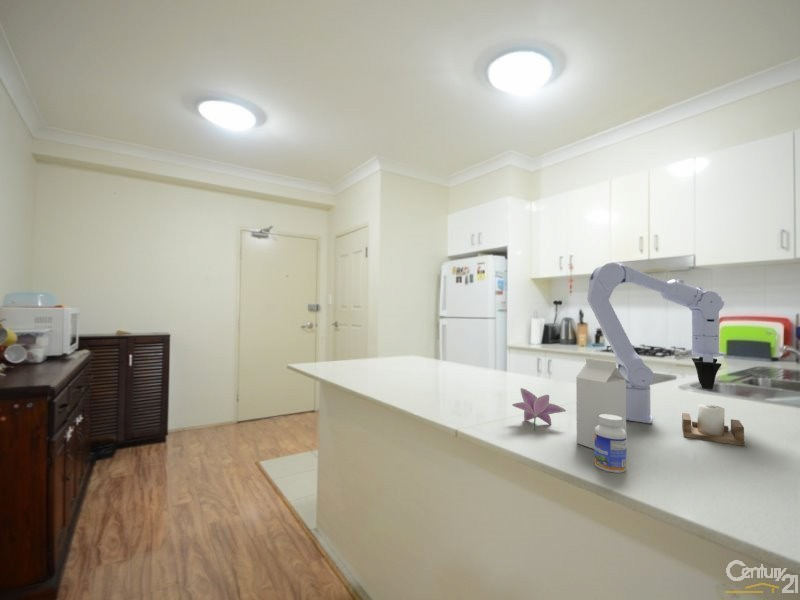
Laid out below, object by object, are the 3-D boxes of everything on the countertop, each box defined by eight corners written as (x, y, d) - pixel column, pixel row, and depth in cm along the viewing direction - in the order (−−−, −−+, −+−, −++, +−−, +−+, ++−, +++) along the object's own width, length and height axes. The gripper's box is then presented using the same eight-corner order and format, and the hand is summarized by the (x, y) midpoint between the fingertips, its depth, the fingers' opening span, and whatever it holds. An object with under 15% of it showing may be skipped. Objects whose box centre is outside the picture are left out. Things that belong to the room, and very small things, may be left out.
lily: (572, 436, 95) (569, 398, 100) (542, 424, 90) (541, 384, 94) (531, 439, 104) (531, 403, 109) (502, 427, 99) (503, 391, 103)
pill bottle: (588, 462, 76) (588, 413, 76) (614, 461, 77) (614, 412, 77) (605, 474, 71) (605, 421, 71) (633, 473, 71) (633, 420, 71)
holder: (683, 436, 92) (683, 419, 92) (682, 428, 99) (682, 412, 99) (744, 446, 86) (744, 428, 86) (738, 436, 93) (738, 419, 93)
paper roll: (699, 433, 92) (699, 407, 92) (696, 427, 96) (696, 402, 96) (726, 437, 89) (726, 410, 89) (722, 431, 93) (722, 405, 93)
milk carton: (605, 454, 81) (605, 363, 81) (576, 443, 87) (576, 359, 87) (626, 448, 84) (626, 361, 84) (596, 438, 90) (596, 357, 91)
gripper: (728, 338, 95) (729, 393, 95) (721, 335, 107) (721, 383, 107) (692, 336, 99) (693, 389, 99) (689, 333, 111) (690, 381, 111)
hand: (705, 386), depth 103 cm, fingers open, 7 cm apart
